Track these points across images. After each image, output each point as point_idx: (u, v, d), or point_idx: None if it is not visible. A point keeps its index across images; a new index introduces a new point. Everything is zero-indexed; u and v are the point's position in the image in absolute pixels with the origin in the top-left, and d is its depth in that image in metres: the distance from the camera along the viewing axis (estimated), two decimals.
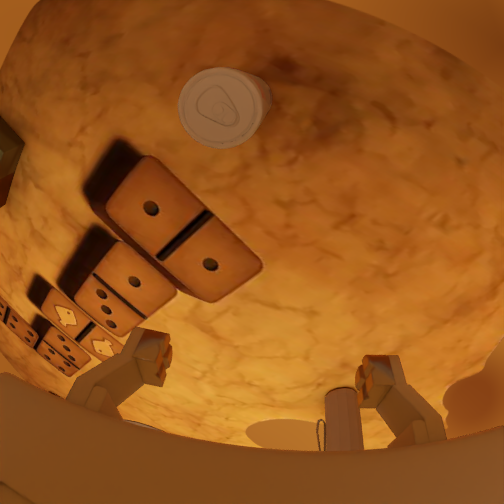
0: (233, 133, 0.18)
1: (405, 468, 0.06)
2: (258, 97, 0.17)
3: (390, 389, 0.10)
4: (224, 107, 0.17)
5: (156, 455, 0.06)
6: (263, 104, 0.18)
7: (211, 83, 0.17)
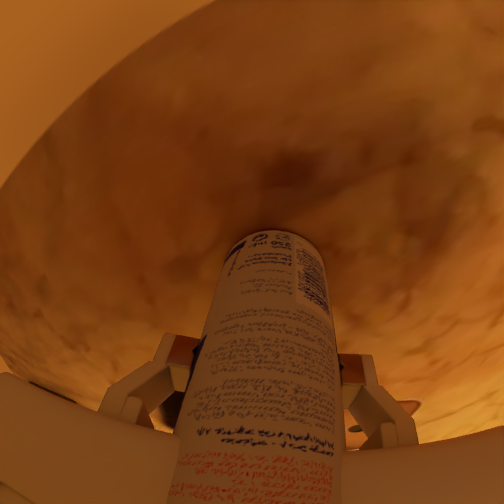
0: None
1: (405, 468, 0.06)
2: None
3: (361, 389, 0.10)
4: None
5: (156, 455, 0.06)
6: None
7: None
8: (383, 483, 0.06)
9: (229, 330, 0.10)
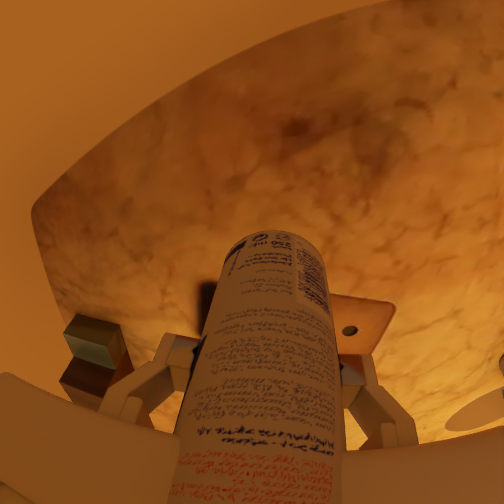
0: None
1: (405, 468, 0.06)
2: None
3: (361, 389, 0.10)
4: None
5: (156, 455, 0.06)
6: None
7: None
8: (383, 483, 0.06)
9: (229, 330, 0.10)
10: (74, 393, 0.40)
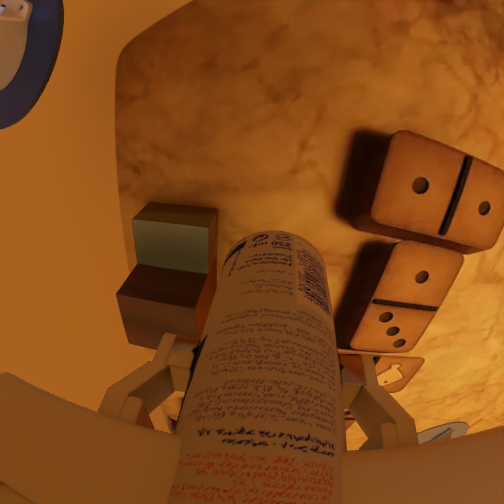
0: None
1: (405, 468, 0.06)
2: None
3: (361, 389, 0.10)
4: None
5: (156, 455, 0.06)
6: None
7: None
8: (383, 483, 0.06)
9: (230, 330, 0.10)
10: (139, 313, 0.31)
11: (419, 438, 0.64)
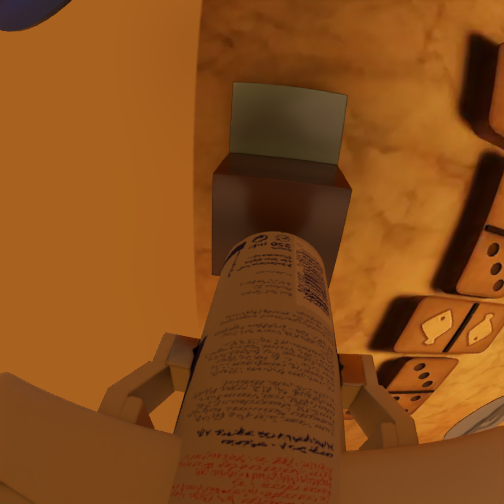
0: None
1: (405, 468, 0.06)
2: None
3: (361, 389, 0.10)
4: None
5: (156, 455, 0.06)
6: None
7: None
8: (383, 483, 0.06)
9: (229, 331, 0.10)
10: (249, 208, 0.20)
11: (481, 413, 0.53)
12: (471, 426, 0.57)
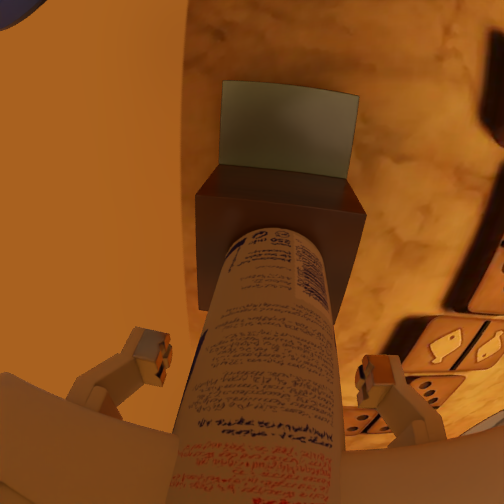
0: None
1: (405, 468, 0.06)
2: None
3: (390, 389, 0.10)
4: None
5: (156, 455, 0.06)
6: None
7: None
8: (383, 483, 0.06)
9: (229, 324, 0.10)
10: None
11: (485, 425, 0.50)
12: None
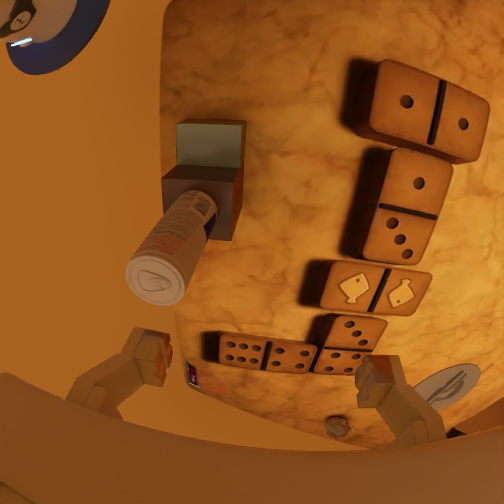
0: (174, 289, 0.25)
1: (405, 468, 0.06)
2: (165, 262, 0.24)
3: (390, 389, 0.10)
4: (156, 279, 0.25)
5: (156, 455, 0.06)
6: (174, 259, 0.24)
7: (137, 270, 0.24)
8: (383, 483, 0.06)
9: (164, 216, 0.30)
10: None
11: (433, 382, 0.70)
12: (428, 396, 0.74)
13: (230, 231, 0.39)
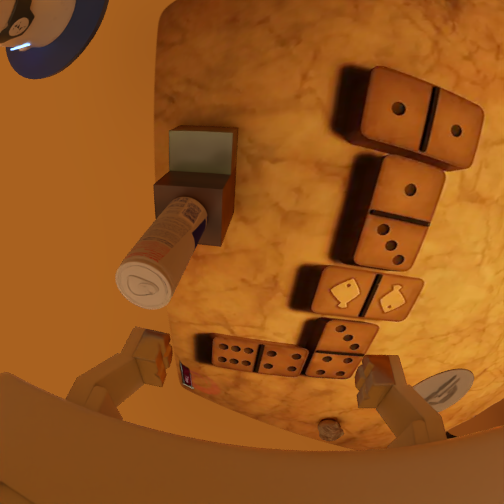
0: (161, 294, 0.26)
1: (405, 468, 0.06)
2: (152, 268, 0.24)
3: (390, 389, 0.10)
4: (144, 284, 0.26)
5: (156, 455, 0.06)
6: (161, 265, 0.25)
7: (126, 275, 0.25)
8: (383, 483, 0.06)
9: (155, 222, 0.31)
10: None
11: (426, 387, 0.71)
12: None
13: (220, 237, 0.39)
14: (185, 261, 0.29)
